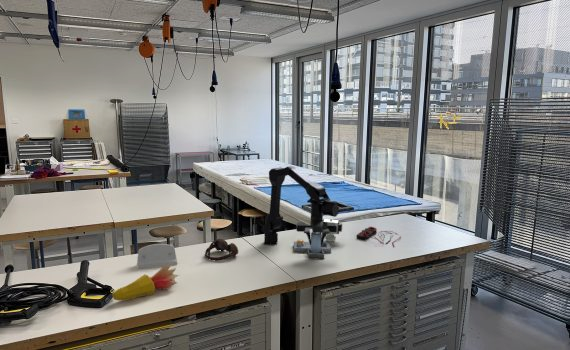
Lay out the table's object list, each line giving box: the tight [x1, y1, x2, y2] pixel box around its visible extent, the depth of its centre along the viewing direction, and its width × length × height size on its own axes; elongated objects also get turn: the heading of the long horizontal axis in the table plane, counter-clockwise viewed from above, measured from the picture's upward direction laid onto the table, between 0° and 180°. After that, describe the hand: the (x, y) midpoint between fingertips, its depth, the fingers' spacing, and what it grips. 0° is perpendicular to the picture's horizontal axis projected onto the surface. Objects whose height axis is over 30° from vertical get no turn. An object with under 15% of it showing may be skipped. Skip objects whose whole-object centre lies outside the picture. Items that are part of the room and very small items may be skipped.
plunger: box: [296, 239, 304, 246], centre depth 190 cm, size 3×3×4 cm
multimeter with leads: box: [356, 226, 401, 248], centre depth 210 cm, size 23×4×25 cm
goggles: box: [204, 238, 239, 262], centre depth 178 cm, size 15×13×10 cm
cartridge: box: [310, 231, 322, 253], centre depth 180 cm, size 5×5×9 cm
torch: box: [112, 262, 180, 301], centre depth 140 cm, size 8×8×25 cm
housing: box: [293, 241, 332, 254], centre depth 190 cm, size 18×10×2 cm, turn 90°
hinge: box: [136, 243, 178, 270], centre depth 167 cm, size 17×5×10 cm, turn 110°
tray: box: [306, 249, 325, 260], centre depth 181 cm, size 7×7×2 cm
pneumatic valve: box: [323, 218, 343, 243], centre depth 203 cm, size 6×12×12 cm, turn 76°
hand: (315, 244), depth 180 cm, fingers closed on cartridge, 5 cm apart
